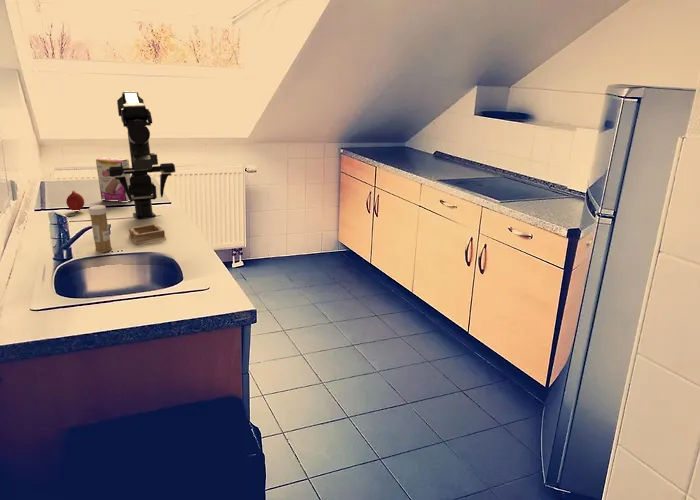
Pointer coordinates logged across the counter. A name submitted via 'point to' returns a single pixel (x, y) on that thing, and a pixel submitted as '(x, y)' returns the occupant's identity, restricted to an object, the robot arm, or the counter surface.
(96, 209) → the sprinkles bottle
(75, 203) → the onion
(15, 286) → the counter surface
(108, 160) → the candy bar box
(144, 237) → the holder
